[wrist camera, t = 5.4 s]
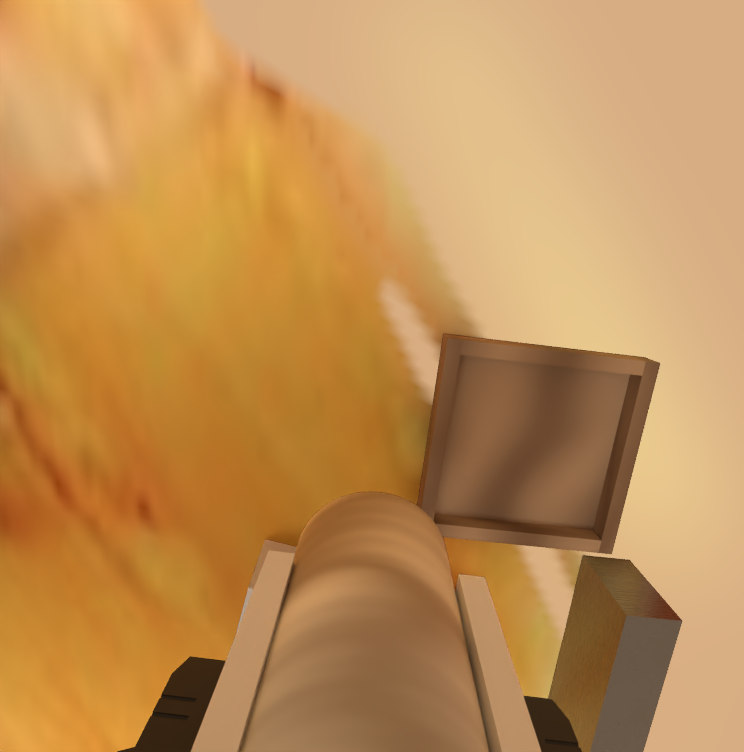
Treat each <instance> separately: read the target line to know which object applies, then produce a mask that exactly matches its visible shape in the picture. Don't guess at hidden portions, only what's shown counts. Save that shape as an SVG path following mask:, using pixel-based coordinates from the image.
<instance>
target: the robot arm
mask: <svg viewBox="0 0 744 752" xmlns="http://www.w3.org/2000/svg"><path fill="white" fill-rule="evenodd" d="M294 559H295V553H287V552H279V551H271V550H269V551H268V553H267V556H266V558H265V561H264V564H263V566H262V569H261V571H260V574H259V576H258V579H257V582H256V584H255V587H254V589H253V592H252V595H251V597H250V600H249V602H248V605H247V607H246V610H245V613H244V615H243V618H242V620H241V623H240V626H239V628H238V631H237V633H236V636H235V638H234V641H233V644H232V646H231V649H230V651H229V654H228V657H227V659H226V661H222V660H214V659H206V658H198V657H189V658H188V659H187V660H186V661H185V662H184V663H183V664H182V665H181V666H180V667H179V668H177V669H176V670H175V671H174V672H173V673H172V675H171V677H170V679H169V681H168V683H167V685H166V687H165V689H164V691H163V693H162V696H161V698H160V699H159V701H158V703H157V705H156V707H155V708H154V710H153V714H152V716H150V718H149V720H148V722H147V724H146V726H145V728H144V730H143V732H142V734H141V736H140V738H139V740H138V742H137V744H136V746H135V747H133V748H129V749H125V750H121V751H118V752H240V749H241V746H242V743H243V739H244V736H245V732H246V729H247V725H248V722H249V718H250V715H251V711H252V708H253V705H254V701H255V698H256V694H257V691H258V687H259V684H260V680H261V677H262V673H263V670H264V667H265V663H266V660H267V656H268V653H269V649H270V646H271V642H272V639H273V635H274V632H275V629H276V625H277V622H278V618H279V615H280V611H281V608H282V604H283V601H284V598H285V594H286V591H287V587H288V584H289V580H290V577H291V573H292V570H293V566H294ZM455 593H456V598H457V602H458V607H459V612H460V616H461V621H462V626H463V630H464V635H465V640H466V644H467V649H468V654H469V659H470V663H471V668H472V673H473V677H474V682H475V687H476V691H477V696H478V701H479V706H480V710H481V715H482V720H483V724H484V729H485V734H486V738H487V743H488V748H489V752H582V750H581V748H579V745H578V744H579V743H578V740H577V738H576V736H575V733H574V731H573V728H572V726H571V723H570V721H569V719H568V718H567V717H566V716H565V714H564V713H563V712H562V711H561V709H560V708H559V707H558V706H557V704H556V703H555V702H554V701H553V700H552V699H546V698H538V697H529V696H523V693H522V690H521V687H520V684H519V681H518V678H517V675H516V672H515V669H514V665H513V662H512V659H511V656H510V653H509V650H508V647H507V644H506V641H505V638H504V635H503V631H502V628H501V625H500V622H499V619H498V616H497V613H496V610H495V607H494V604H493V601H492V598H491V594H490V591H489V588H488V585H487V582H486V579H485V577H479V576H471V575H463V574H459V575H458V580H457V586H456V591H455Z"/></svg>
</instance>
